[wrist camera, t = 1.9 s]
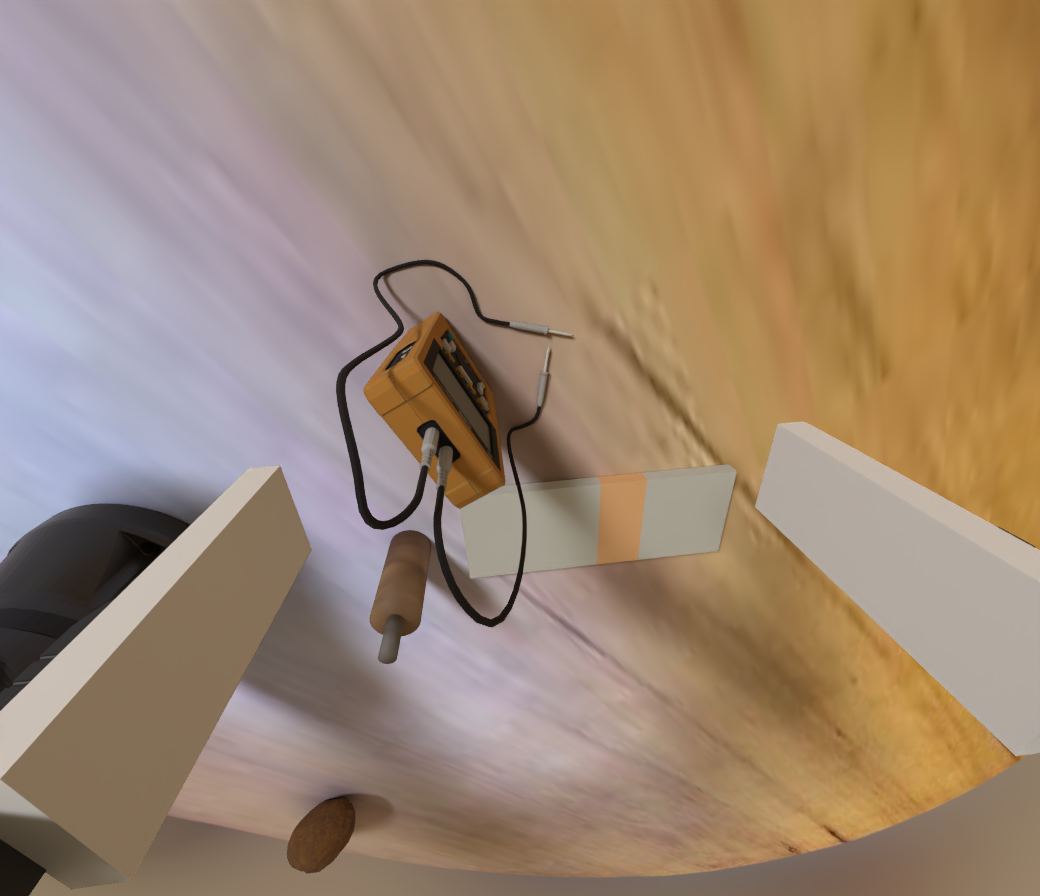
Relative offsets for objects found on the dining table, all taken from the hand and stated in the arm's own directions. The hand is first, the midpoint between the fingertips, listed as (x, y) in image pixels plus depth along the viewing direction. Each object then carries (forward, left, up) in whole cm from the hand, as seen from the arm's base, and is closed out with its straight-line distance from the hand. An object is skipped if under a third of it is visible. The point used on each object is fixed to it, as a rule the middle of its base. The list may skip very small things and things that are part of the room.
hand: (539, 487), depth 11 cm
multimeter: (0, 0, -20) cm, 20 cm away
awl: (-9, -18, -20) cm, 28 cm away
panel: (+8, -17, -20) cm, 27 cm away
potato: (-28, -61, -20) cm, 70 cm away
